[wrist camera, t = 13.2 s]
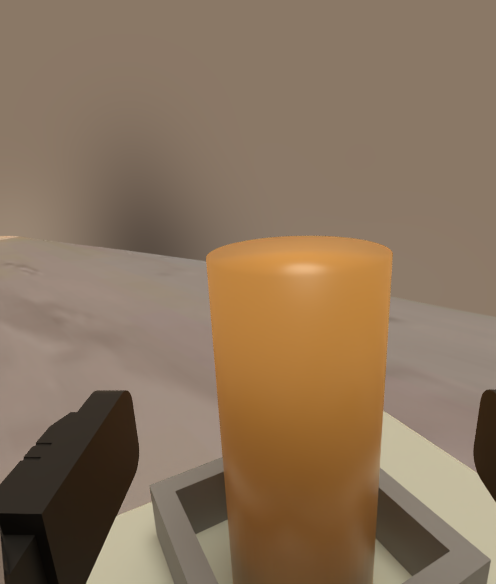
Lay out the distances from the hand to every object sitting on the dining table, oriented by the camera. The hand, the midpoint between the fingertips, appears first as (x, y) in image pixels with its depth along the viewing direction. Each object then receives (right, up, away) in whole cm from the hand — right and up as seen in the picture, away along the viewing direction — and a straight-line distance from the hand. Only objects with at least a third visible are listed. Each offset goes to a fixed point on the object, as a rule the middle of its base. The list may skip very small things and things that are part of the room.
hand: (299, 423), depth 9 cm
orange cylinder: (+1, -7, +5) cm, 9 cm away
